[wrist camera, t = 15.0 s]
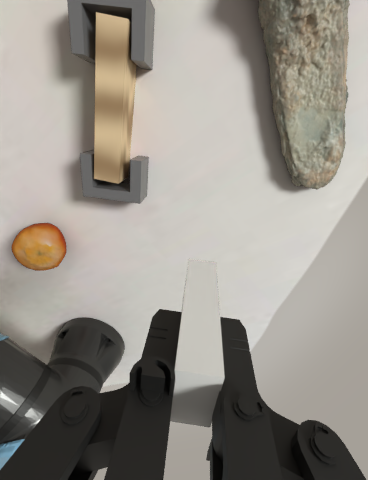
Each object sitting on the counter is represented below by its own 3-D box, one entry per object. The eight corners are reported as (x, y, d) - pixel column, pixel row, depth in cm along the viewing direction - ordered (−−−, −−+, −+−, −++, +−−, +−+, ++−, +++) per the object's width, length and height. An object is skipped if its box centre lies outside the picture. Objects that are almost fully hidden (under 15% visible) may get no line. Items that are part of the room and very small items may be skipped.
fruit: (8, 224, 42) (-2, 239, 35) (56, 212, 45) (56, 223, 38) (28, 263, 45) (22, 284, 38) (71, 250, 48) (73, 266, 41)
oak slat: (128, 176, 38) (118, 183, 34) (107, 172, 38) (94, 178, 34) (139, 34, 30) (128, 18, 26) (112, 28, 30) (96, 12, 26)
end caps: (146, 195, 39) (140, 203, 35) (95, 188, 39) (83, 196, 35) (154, 9, 29) (146, -10, 25) (85, 1, 29) (65, -19, 25)
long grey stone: (275, 192, 39) (339, 173, 37) (287, 203, 34) (361, 181, 32) (222, -143, 23) (330, -201, 22) (231, -208, 18) (369, -288, 17)
